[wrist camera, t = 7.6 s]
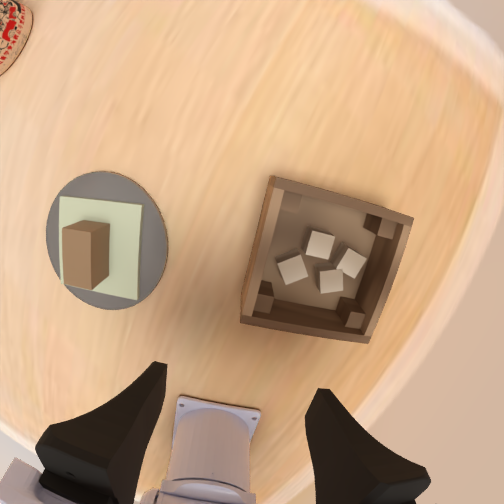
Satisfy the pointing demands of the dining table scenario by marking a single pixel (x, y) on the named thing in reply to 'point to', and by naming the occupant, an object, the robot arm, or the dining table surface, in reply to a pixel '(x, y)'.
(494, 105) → the dining table surface
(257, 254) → the brown wooden open box
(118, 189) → the coaster
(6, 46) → the teacup with lid
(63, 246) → the lid
